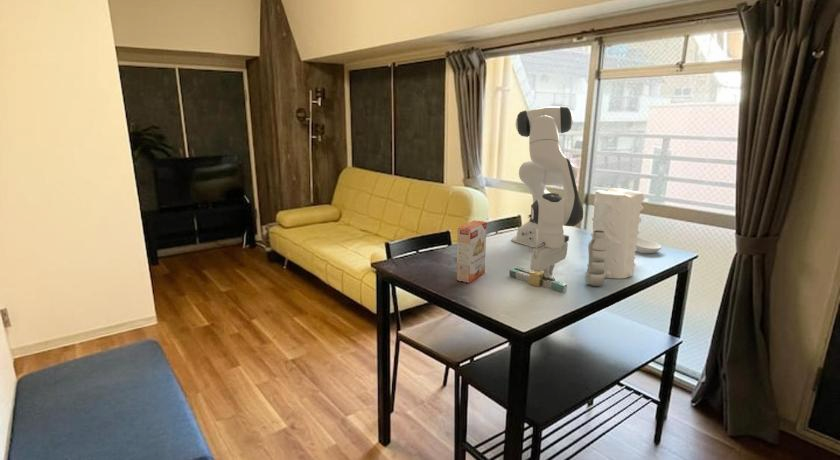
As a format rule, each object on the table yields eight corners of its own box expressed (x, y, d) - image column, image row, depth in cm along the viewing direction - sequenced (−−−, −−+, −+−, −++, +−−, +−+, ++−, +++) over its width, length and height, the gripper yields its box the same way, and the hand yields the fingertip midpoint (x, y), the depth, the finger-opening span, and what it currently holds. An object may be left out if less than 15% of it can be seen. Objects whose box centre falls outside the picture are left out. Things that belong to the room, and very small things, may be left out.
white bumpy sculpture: (578, 268, 183) (584, 189, 175) (609, 262, 189) (616, 186, 181) (611, 282, 168) (619, 196, 160) (643, 275, 174) (653, 192, 166)
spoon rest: (664, 252, 203) (666, 236, 201) (654, 258, 195) (656, 241, 193) (611, 242, 219) (613, 227, 217) (600, 247, 211) (602, 232, 209)
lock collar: (551, 281, 170) (551, 269, 169) (538, 287, 164) (539, 275, 163) (541, 278, 173) (542, 266, 171) (529, 284, 167) (529, 272, 166)
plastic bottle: (581, 282, 169) (585, 229, 163) (599, 281, 169) (603, 228, 164) (589, 288, 162) (593, 234, 157) (607, 287, 163) (612, 233, 158)
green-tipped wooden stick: (568, 290, 161) (569, 282, 161) (563, 292, 159) (563, 285, 158) (514, 274, 178) (514, 267, 177) (509, 276, 175) (509, 269, 175)
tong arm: (553, 283, 167) (553, 276, 167) (550, 285, 166) (550, 278, 165) (517, 272, 179) (517, 266, 178) (513, 274, 177) (514, 267, 177)
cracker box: (470, 284, 168) (471, 229, 163) (456, 281, 171) (456, 227, 166) (486, 272, 180) (487, 221, 174) (472, 270, 183) (473, 219, 178)
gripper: (543, 248, 153) (541, 286, 156) (571, 235, 167) (568, 271, 170) (526, 244, 157) (525, 282, 160) (555, 232, 171) (553, 267, 175)
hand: (547, 276), depth 166 cm, fingers closed
